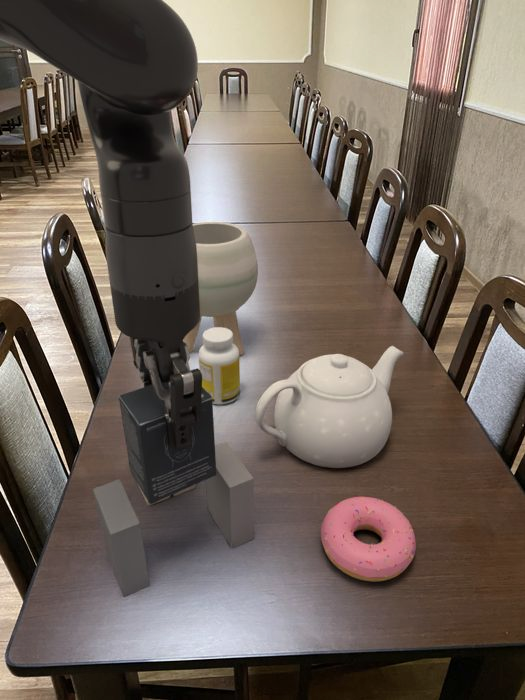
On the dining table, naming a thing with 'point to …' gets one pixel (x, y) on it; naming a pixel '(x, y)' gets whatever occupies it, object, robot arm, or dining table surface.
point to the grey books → (223, 503)
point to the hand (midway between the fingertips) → (168, 427)
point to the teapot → (333, 409)
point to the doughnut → (364, 557)
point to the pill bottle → (220, 365)
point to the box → (165, 445)
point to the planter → (223, 275)
